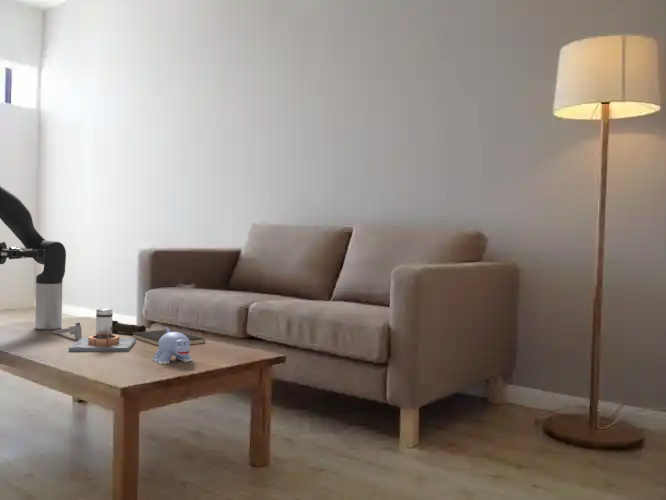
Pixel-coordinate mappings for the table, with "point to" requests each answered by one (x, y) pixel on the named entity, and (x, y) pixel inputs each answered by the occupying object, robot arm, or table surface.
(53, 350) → the table surface
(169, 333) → the hippopotamus toy
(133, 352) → the table surface
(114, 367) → the table surface
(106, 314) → the steel piston
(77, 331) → the caliper
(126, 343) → the grey square base plate
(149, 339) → the hardcover book
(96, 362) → the table surface
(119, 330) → the hand tool
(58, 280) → the robot arm
